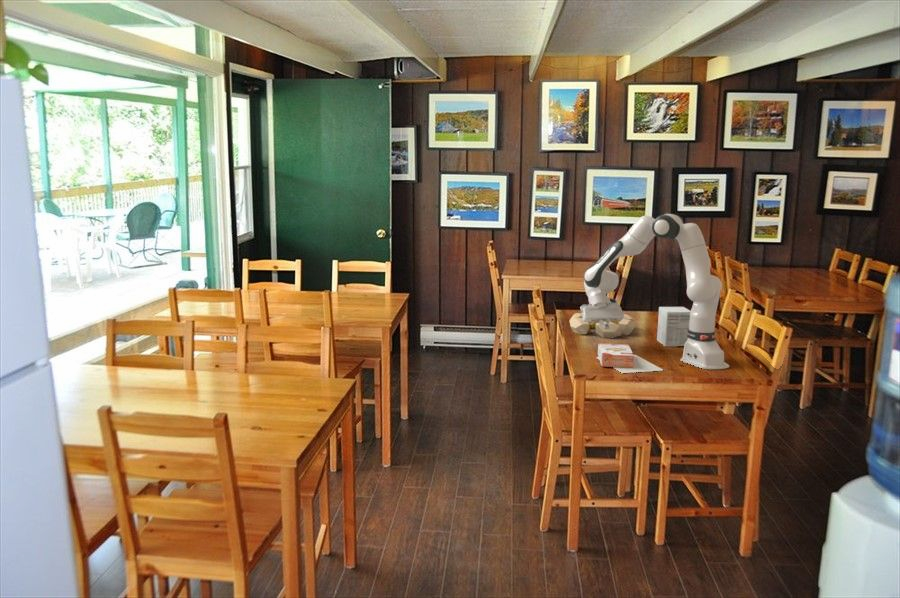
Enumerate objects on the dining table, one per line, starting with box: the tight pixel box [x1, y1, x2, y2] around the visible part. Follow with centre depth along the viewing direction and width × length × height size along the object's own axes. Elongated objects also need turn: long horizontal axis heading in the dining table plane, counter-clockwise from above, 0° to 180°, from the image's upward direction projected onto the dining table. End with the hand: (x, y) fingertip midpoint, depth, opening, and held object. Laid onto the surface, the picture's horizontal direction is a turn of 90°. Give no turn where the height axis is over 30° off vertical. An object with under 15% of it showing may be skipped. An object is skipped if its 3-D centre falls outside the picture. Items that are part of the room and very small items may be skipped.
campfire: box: [569, 312, 636, 339], centre depth 406 cm, size 35×34×17 cm
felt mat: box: [595, 354, 664, 375], centre depth 344 cm, size 26×20×1 cm
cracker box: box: [597, 342, 635, 368], centre depth 346 cm, size 14×6×21 cm
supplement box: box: [656, 306, 691, 347], centre depth 381 cm, size 13×13×18 cm
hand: (606, 328), depth 363 cm, fingers closed
